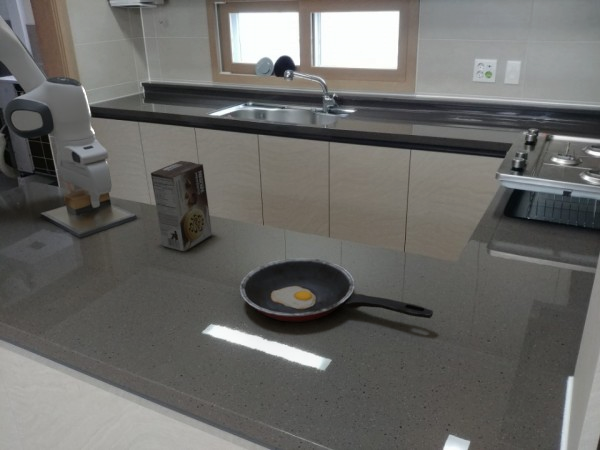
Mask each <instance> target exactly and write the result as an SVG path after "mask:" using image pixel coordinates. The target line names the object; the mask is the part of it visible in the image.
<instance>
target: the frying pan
mask: <svg viewBox="0 0 600 450" xmlns="http://www.w3.org/2000/svg"><path fill="white" fill-rule="evenodd" d="M239 290H240V295H241V297H242V298H243V300H244V301H245V302H246V303H247V304H248V305H250V306H251V307H253V308H254V309H255V310H256V311H257V312H259V313H261V314H263V315H264V316H266V317H268V318H271V319H273V320H276V321H280V322H281V321H282V322H288V323H303V322H308V321H309V322H310V321H314V320H318V319H320V318H323V317H325V316H327V315H328V314H330V313H332V312H333V311H335V310H336V309H338V308H339V307H344V308H345V309H356V308H362V307H363V308H376V309H377V308H379V309H385V310H387V311H388V310H389V311H392V312H395V313H398V314H402V315H407V316H412V317H415V318H425V319H431V318H432V317H433V315H434V310H432V309H429V308H426V307H423V306H421V305H418V304H414V303H409V302H404V301H399V300H394V299H389V298H386V297H378V296H371V295H366V294H361V293H353V292H354V290H355V280H354V278H353V276H352V274H351V273H350V272H349V271H348V270H346V269H345V267H342V266H341V265H338V264H336V263H333V262H331V261H327V260H325V259H324V260H323V259H318V258H309V257H308V258H307V257H294V258H293V257H292V258H284V259H279V260H273V261H271V262H270V261H269V262H267V263H264V264H262V265H260V266H258V267H256V268H254V269H253V270H251V271H250V272H248V273H247V275H245V276H244V277H243V279H242V280H241V282H240V286H239ZM352 293H353V294H352Z"/></svg>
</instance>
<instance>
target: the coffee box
mask: <svg viewBox="0 0 600 450" xmlns="http://www.w3.org/2000/svg"><path fill="white" fill-rule="evenodd" d="M150 177H151V178H150V179H151V183H152V189H153V195H154V202H155V207H156V213H157V220H158V226H159V232H160V239H161V244H162V247H165V248H169V249H173V250H177V251H180V252H186V251H187V250H189V249H191V248H193V247H195V246H196V245H197V244H199V243H201V242H203V241H204V240H206V239H207V238H209V237H211V236H212V235H213V231H212V223H211V216H210V208H209V199H208V193H207V192H208V191H207V184H206V177H205V169H204V164H202V163H196V162H193V161H187V160H186V161H185V160H179V161H176V162H174V163H172V164H169V165H167V166H164V167H162V168H159V169H156V170H154V171H152V172H150Z"/></svg>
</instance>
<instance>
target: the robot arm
mask: <svg viewBox="0 0 600 450" xmlns="http://www.w3.org/2000/svg"><path fill="white" fill-rule="evenodd" d="M0 62H1V63H2V64H3V65H4V66H5V67H6V68H7V70H8V71H9V72H10V74H11V75H12V76H13V77H14V79H15V81H16V82H17V83H18V84H19V86H20V87H21V88H22V89H23V91H24V93H23V94H22V95H19V96H16V97H15V98H13V99H12V100H10V101H9V102H8V103H7V104H6V106H5V108H4V120H5V122H6V125H7V126H8V128H9V130H10V131H11V132H12V133H14V134H15V135H16V136H18V137H20V138H23V139H37V138H40V137H44V136H47V135H52V136H53V138H54V143H55V147H56V154H55V155H56V164H57V171H58V176H59V178H60V180H61V181H63V182H65V183H68V184H70V185H71V186H72V189H73V191H74V192H77V191H81V190H87V191H89V195H90V200H89V202H90V206H91V207H93V208H96V207H99V206H100V203H99V197H100V195H101V194H105V193H108V192H109V193H110V192H111V191H112V188H113V187H112V185H113V184H112V183H113V182H112V177H111V171H110V166H109V163H108V162H107V159H109V153H108V150H107V149H106V148H105V147H104V146H103V145H102V144H101V143H100V141H99V140H98V139H97V138H96V132H95V130H94V128H93V126H92V111H91V107H90V103H89V100H88V96H87V93H86V90H85V88H84V86H83V84H82V82H80V81H79V80H77V79H75V78H71V77H67V76H66V77H65V76H60V77H59V76H54V77H48V76H47V75H46V73H45V71H44V70H43V68H42V67H41V66H40V65H39V63H38V62H37V60H36V59H35V57H34V56H33V55H32V53H31V52H30V51H29V49H28V48H27V46H26V45H25V44H24V42H23V41H22V40H21V39H20V37H19V36H18V35H17V34H16V33H15V31H14V30H13V29H12V28H11V27H10V25H9V24H8V23H7V21H6V20H5V19H4V18H3V16H2V15H1V14H0Z"/></svg>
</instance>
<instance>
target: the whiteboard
mask: <svg viewBox="0 0 600 450" xmlns="http://www.w3.org/2000/svg"><path fill="white" fill-rule="evenodd" d="M40 215H41V216H40V217H41V218H42V219H45V220H46V221H48V222H50V223H51V224H54V225H55V226H57V227H59V228H61V229H63V230H65V231H67V232H68V233H70V234H72V235H73V236H76V238H79V239H82V238H85V237H87V236H91V235H94V234H96V233H100V232H102V231H105V230H108V229H111V228H114V227H117V226H119V225H122V224H123V225H124V224H126V223H128V222H131V221H133V220H134V221H135V220H137V215H136V213H134V212H130V211H128V210H126V209H123V208H122V207H119V206H116V205H114V204H112V203H111V205H109V206H105V207H102V208H99V209H96V210H92V211H89V212H86V213H83V214H80V215H74V214H72V213H71V212H69V211H67V208H66V205H63V206H60V207H57V208H54V209H50V210H47V211H43V212H40Z"/></svg>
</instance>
